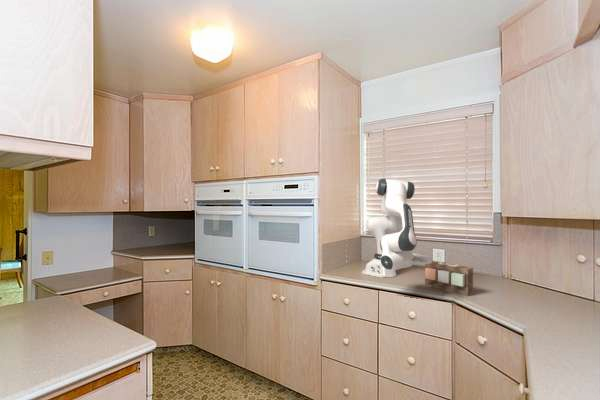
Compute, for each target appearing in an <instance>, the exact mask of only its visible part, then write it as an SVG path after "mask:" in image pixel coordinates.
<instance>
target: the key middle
mask: <svg viewBox="0 0 600 400" xmlns="http://www.w3.org/2000/svg"><path fill="white" fill-rule="evenodd" d="M451 273H452V271H448V270H443V269H441V270H438V281H439V282H444V283H451Z"/></svg>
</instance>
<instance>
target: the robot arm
mask: <svg viewBox="0 0 600 400" xmlns="http://www.w3.org/2000/svg"><path fill="white" fill-rule="evenodd" d="M415 187H416V186H415V184H414V183H413V182H411V181H406V180H402V179H401V180H400V179H394V178H393V179H392V178H391V179H390V178H380V179H378V180H377V182H376V185H375V191H376V194H377V195H378V196H380V197H382V198H381V199H382V200H381V204H380V210H381V212H382V213H383V214H384V215H385V216H384V215H383V216H377V215H376V216H372V217H369V218H367V220H366V224H365V225H366V229H367V230H368V231H369V232H370V233H371V234H372V235H373V237H374V238H375V241H376V252H375V253H374V254H373V257H374V258H373V259H371V260H370V261H368V262H367V263H366V265H365V269H363V270H362V271H361V274H363V275H367V276H372V277H377V278H394V277H397V271H398V270H400V269H406V268H410V267H412V266H413V265H414V264H419V265H425V264H430V263H432V261H433V257H432V256H431V255H425V254H419V253H414V252H413V253H412V251H413V250H414V249H415V248H416V246H417V243H418V240H417V237H416V234H415V224H414V218H413V212H412V209H411V206H410V205H409V204H408V203H407V200H410V199H412V198H413V197H414V195H415V193H416V188H415Z"/></svg>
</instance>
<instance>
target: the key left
mask: <svg viewBox="0 0 600 400" xmlns="http://www.w3.org/2000/svg"><path fill="white" fill-rule="evenodd" d="M424 270H425V271H424V273H425V275H424V279H425V278H426V279H431V280H438V268H433V267H427V268H424Z"/></svg>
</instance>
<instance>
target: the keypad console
mask: <svg viewBox="0 0 600 400" xmlns="http://www.w3.org/2000/svg"><path fill="white" fill-rule="evenodd" d="M424 265H425V268H427V267H433V268H438V270H441V269H443V270H448V271H452V273H453V272H459V273H464V274H466V286H463V287H462V286H457V285H453V284H451V283H444V282H439V281H438V280H431V279H426V278H425V277H424V283H425V284H424V285H425V287H430V288H434V289H438V290H442V291H446V292H450V293H454V294H457V295H462V296H466V297H469V296H471V295H473V294H474V268H473V267H471V266H464V265H459V264H456V263H455V264H454V263H448V262H445V261H443V262H442V261H435V260H432V263H430V264H424ZM425 268H424V269H425Z"/></svg>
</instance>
